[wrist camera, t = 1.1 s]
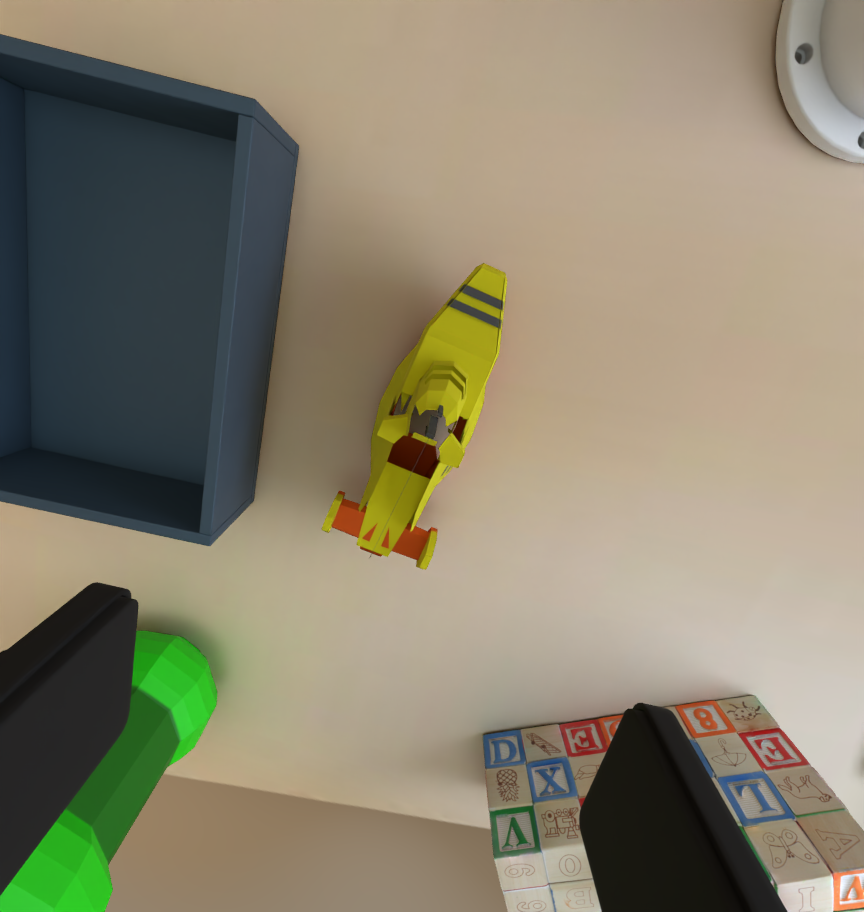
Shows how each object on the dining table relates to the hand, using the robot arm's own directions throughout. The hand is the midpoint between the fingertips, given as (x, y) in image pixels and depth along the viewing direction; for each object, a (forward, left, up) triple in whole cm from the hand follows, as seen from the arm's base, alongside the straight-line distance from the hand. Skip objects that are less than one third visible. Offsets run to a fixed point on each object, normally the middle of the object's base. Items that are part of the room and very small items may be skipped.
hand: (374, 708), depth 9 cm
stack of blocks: (+22, +21, -24) cm, 39 cm away
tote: (-3, -18, -24) cm, 30 cm away
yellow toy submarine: (-1, 0, -24) cm, 24 cm away
